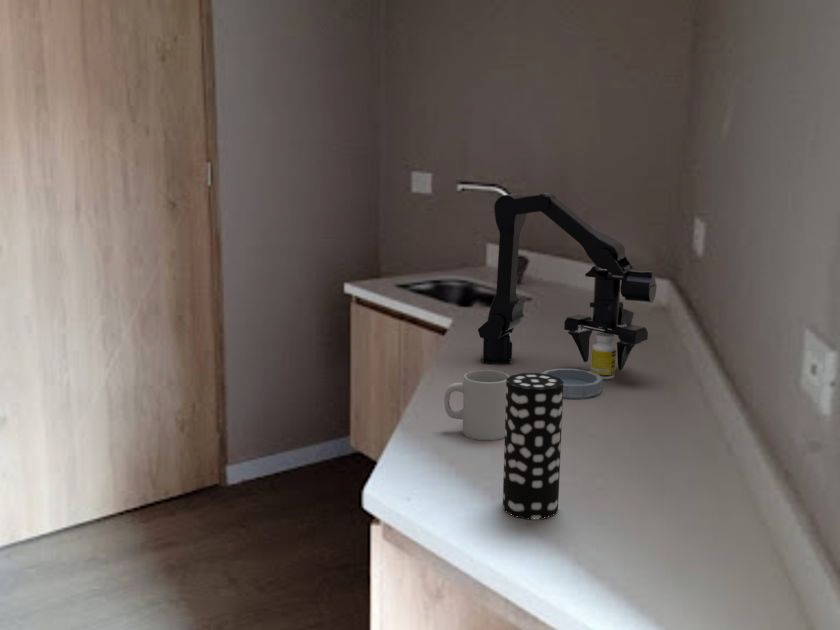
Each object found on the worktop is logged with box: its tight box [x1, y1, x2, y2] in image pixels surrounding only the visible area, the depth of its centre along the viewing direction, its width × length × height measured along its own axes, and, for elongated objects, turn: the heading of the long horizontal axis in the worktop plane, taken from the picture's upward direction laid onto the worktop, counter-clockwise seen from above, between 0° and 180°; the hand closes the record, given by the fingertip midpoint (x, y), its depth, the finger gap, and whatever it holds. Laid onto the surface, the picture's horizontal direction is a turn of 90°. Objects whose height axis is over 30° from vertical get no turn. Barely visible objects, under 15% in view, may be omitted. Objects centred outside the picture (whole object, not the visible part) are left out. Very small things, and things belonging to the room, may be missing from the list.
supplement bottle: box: [590, 332, 617, 380], centre depth 207 cm, size 5×5×10 cm
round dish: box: [541, 368, 603, 400], centre depth 197 cm, size 13×13×3 cm
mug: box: [443, 369, 510, 441], centre depth 170 cm, size 12×8×11 cm
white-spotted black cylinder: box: [502, 372, 564, 520], centre depth 137 cm, size 8×8×20 cm
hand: (602, 365), depth 207 cm, fingers open, 9 cm apart
